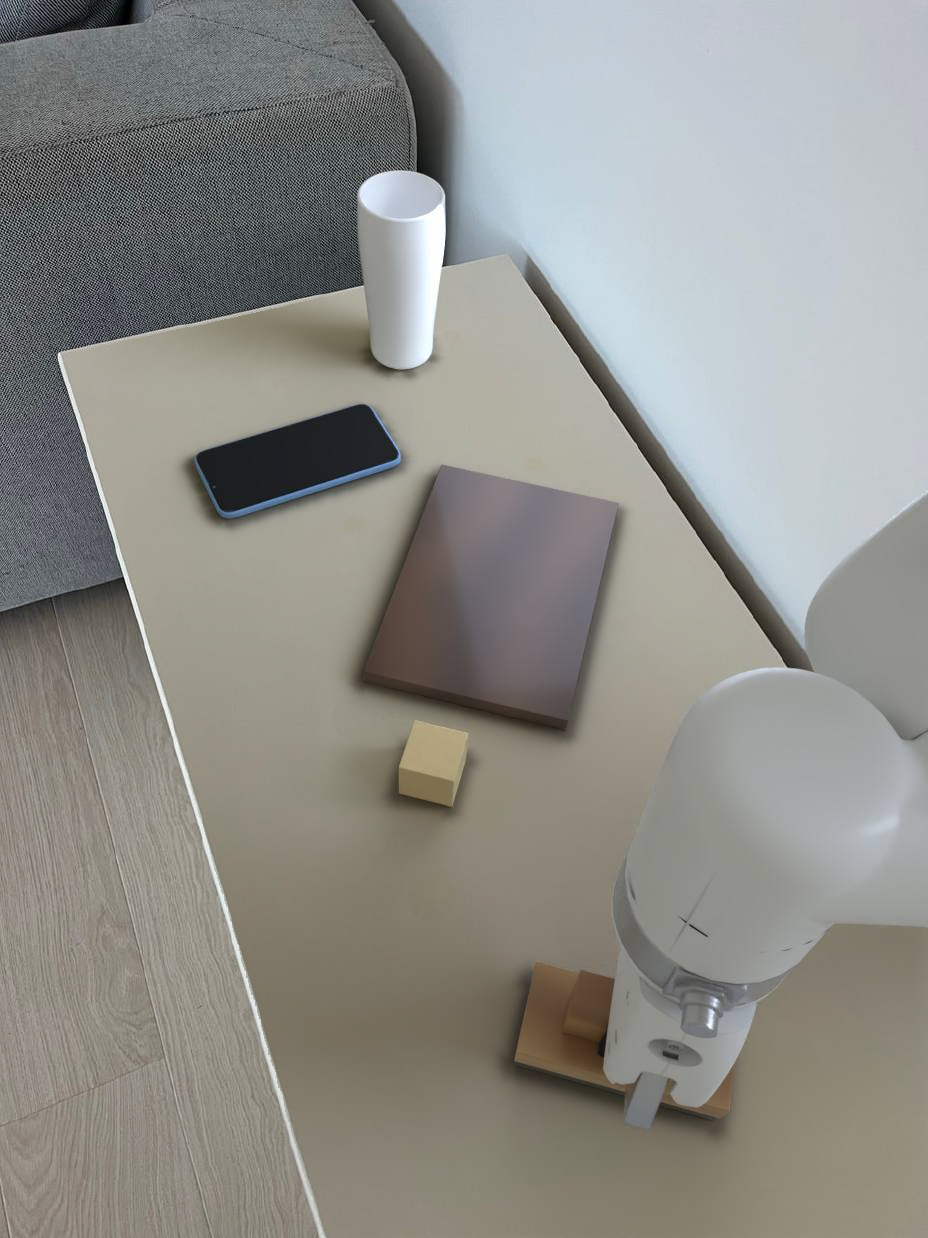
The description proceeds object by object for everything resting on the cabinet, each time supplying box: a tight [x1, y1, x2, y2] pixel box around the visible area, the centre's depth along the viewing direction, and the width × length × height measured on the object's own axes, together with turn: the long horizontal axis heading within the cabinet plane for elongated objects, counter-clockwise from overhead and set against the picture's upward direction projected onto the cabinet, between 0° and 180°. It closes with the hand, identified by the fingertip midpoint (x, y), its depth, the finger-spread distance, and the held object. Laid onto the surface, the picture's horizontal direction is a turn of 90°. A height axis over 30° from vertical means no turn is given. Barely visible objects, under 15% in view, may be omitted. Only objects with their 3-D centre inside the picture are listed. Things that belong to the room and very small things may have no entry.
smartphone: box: [194, 403, 402, 519], centre depth 84 cm, size 7×1×15 cm
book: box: [363, 464, 620, 731], centre depth 77 cm, size 14×20×1 cm
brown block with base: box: [513, 960, 736, 1122], centre depth 56 cm, size 5×11×8 cm, turn 76°
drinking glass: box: [356, 169, 446, 370], centre depth 87 cm, size 7×7×15 cm
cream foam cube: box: [398, 719, 469, 808], centre depth 67 cm, size 4×4×4 cm
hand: (631, 1033), depth 57 cm, fingers closed on brown block with base, 2 cm apart
